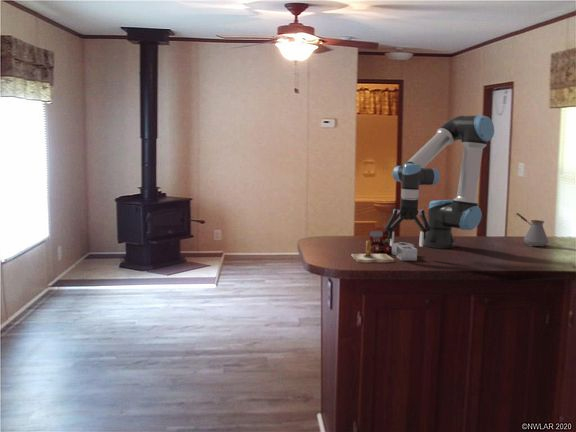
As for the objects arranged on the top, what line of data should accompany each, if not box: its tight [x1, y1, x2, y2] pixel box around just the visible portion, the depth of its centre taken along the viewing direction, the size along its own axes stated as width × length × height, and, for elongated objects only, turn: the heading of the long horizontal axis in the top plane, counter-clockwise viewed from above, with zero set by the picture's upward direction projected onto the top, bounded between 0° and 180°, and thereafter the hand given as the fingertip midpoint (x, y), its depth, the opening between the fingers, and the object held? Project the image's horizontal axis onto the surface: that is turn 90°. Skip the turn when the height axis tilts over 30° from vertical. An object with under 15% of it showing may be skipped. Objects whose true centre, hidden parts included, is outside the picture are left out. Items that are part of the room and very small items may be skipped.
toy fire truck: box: [367, 229, 392, 254], centre depth 279 cm, size 7×12×10 cm, turn 96°
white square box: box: [395, 246, 418, 261], centre depth 265 cm, size 7×7×5 cm
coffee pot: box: [515, 212, 549, 247], centre depth 308 cm, size 21×12×15 cm, turn 21°
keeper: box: [350, 240, 395, 263], centre depth 262 cm, size 16×12×8 cm
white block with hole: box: [391, 241, 415, 256], centre depth 274 cm, size 7×7×5 cm
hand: (406, 246), depth 265 cm, fingers open, 13 cm apart
